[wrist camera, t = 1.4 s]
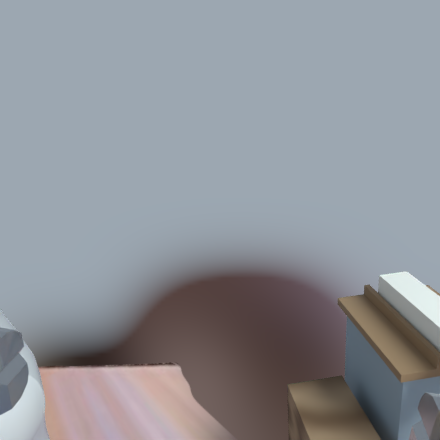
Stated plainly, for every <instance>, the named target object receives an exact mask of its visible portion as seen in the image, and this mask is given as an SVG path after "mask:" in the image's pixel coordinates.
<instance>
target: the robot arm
mask: <svg viewBox="0 0 440 440" xmlns="http://www.w3.org/2000/svg"><path fill="white" fill-rule="evenodd" d="M418 411H419V413H420V416H421V419H422V420H420V421H419V422H417V423H416V424H414V425H413V426H412V428H411V432H410V436H409V440H440V394H434V393H428V392H425V393H424V395H423V396H422V397H421V399H420V402H419V405H418ZM0 440H50V438H49V435H48V431H47V428H46V423H45V396H44V390H43V385H42V381H41V376H40V372H39V369H38V366H37V363H36V359H35V357H34V355H33V353H32V352H31V350H30V349H29V347H28V346H27V344H26V343H25V342H24V340H23V339H22V335H21V333H20V332H18V331H17V330H16V329H15V327H14V326H13V324H12V323H11V322H10V321H9V320H8V319H7V318H6V316H5V315H4V313H3V312H2V311H1V309H0Z"/></svg>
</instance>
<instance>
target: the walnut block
mask: <svg viewBox="0 0 440 440" xmlns="http://www.w3.org/2000/svg"><path fill="white" fill-rule="evenodd" d="M288 421H289V440H381V438H380V437H379V435H378V434H377V432H376V430H375V429H374V427H373V425H372V424H371V422H370V421H369V419H368V417H367V416H366V414H365V412H364V411H363V409H362V408H361V406H360V404H359V403H358V401H357V399H356V398H355V396H354V395H353V393H352V391H351V390H350V388H349V386H348V385H347V383H346V382H345V380H344V378H343V377H342V376H337V377H330V378H324V379H318V380H312V381H307V382H300V383H294V384H288Z"/></svg>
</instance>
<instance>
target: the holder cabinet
mask: <svg viewBox="0 0 440 440" xmlns="http://www.w3.org/2000/svg"><path fill="white" fill-rule="evenodd" d="M426 286H427V287H428V288H429V289H431V290H432V291H433V292H435V293H436V294H437V295H439V296H440V294H439V293H438V292H436V291H435V290H434V289H432V288H431V287H430V286H428V285H426ZM338 305H339V306H340V308H341V309H342V310H343V311H344V313H345V314H346V315H347V331H346V361H345V382H346V383H347V385H348V386H349V388H350V390H351V391H352V393H353V395H354V396H355V398H356V399H357V401H358V403H359V404H360V406H361V408H362V409H363V411H364V412H365V414H366V416H367V417H368V419H369V421H370V422H371V424H372V425H373V427H374V429H375V430H376V432H377V434H378V435H379V437H380V438H381V440H409V436H410V432H411V428H412V426H413V425H414V424H416V423H417V422H419V421H420V420H422V419H421V416H420V413H419V411H418V405H419V402H420V399H421V397H422V396H423V395H424V393H425V392H428V393H434V394H440V352H439V351H438V350H437V349H436V348H435V347H434V346H433V345H432V344H431V343H430V342H429V341H427V340H426V339H425V338H424V337H423V336H422V335H421V334H420V333H419V332H418V331H417V330H416V329H415V328H414V327H413V326H412V325H411V324H410V323H409V322H408V321H407V320H406V319H404V318H403V317H402V316H401V315H400V314H399V313H398V312H397V311H396V310H395V309H394V308H393V307H392V306H391V305H390V304H389V303H388V302H387V301H386V300H385V299H384V298H383V297H381V296H380V295H379V294H378V293H377V292H376V291H375V290H374V289H373V288H372V287H371V286H370V285H365V286H364V295H357V296H350V297H343V298H338Z"/></svg>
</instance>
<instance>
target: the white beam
mask: <svg viewBox="0 0 440 440" xmlns="http://www.w3.org/2000/svg"><path fill="white" fill-rule="evenodd" d="M378 294H379V295H380V296H381V297H383V298H384V299H385V300H386V301H387V302H388V303H389V304H390V305H391V306H392V307H393V308H394V309H395V310H396V311H397V312H398V313H399V314H400V315H401V316H402V317H403V318H404V319H406V320H407V321H408V322H409V323H410V324H411V325H412V326H413V327H414V328H415V329H416V330H417V331H418V332H419V333H420V334H421V335H422V336H423V337H424V338H425V339H426V340H427V341H429V342H430V343H431V344H432V345H433V346H434V347H435V348H436V349H437V350H438V351H439V352H440V296H439V295H437V294H436V293H435V292H433V291H432V290H431V289H429V288H428V287H427V286H425V285H424V284H423V283H421V282H420V281H419V280H417V279H416V278H414V277H413V276H412V275H411V274H409V273H408V272H399V273H392V274H385V275H379V289H378Z"/></svg>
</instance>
